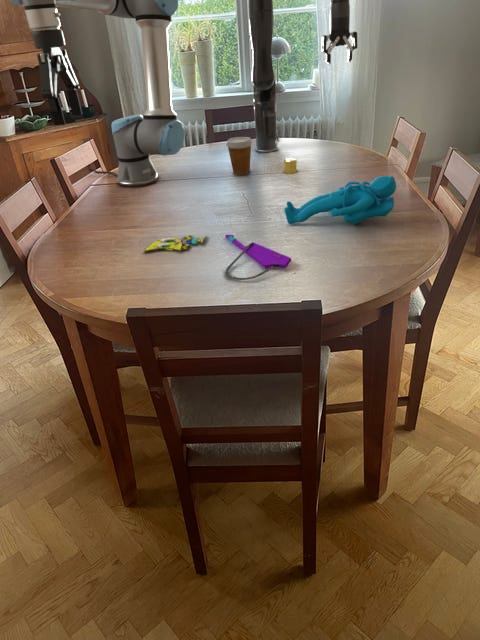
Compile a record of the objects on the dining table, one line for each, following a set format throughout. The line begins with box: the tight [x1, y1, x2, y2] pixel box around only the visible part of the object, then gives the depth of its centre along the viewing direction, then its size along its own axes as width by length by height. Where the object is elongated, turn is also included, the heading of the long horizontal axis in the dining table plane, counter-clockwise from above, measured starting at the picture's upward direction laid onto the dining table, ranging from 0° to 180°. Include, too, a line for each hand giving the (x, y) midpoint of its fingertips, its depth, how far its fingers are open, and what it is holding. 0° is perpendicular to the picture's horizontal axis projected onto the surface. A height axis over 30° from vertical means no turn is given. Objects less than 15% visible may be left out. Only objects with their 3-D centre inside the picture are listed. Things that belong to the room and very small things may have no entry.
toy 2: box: [283, 175, 397, 225], centre depth 132 cm, size 17×11×30 cm
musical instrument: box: [224, 234, 292, 281], centre depth 118 cm, size 24×2×20 cm
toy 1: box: [144, 234, 207, 254], centre depth 130 cm, size 10×1×15 cm
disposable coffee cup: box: [226, 136, 253, 176], centre depth 180 cm, size 10×10×12 cm
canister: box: [283, 157, 298, 174], centre depth 178 cm, size 5×5×4 cm
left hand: (69, 119), depth 132 cm, fingers open, 13 cm apart
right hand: (339, 63), depth 195 cm, fingers open, 8 cm apart
